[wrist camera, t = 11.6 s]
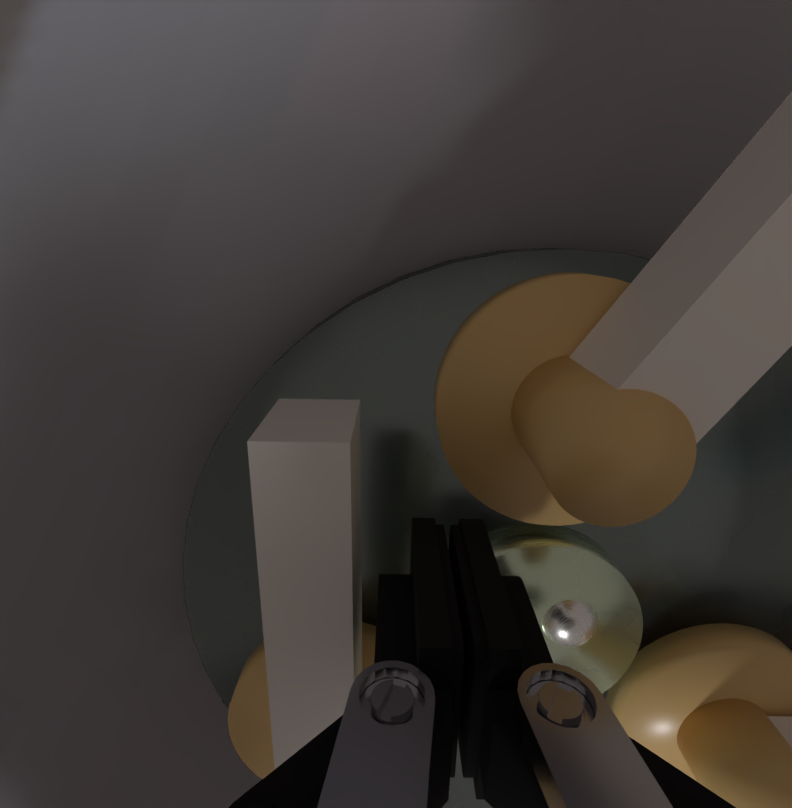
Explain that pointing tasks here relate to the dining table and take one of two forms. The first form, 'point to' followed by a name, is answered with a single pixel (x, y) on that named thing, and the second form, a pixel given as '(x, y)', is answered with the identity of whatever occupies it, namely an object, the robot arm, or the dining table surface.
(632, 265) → the level base
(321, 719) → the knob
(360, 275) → the dining table surface
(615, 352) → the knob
